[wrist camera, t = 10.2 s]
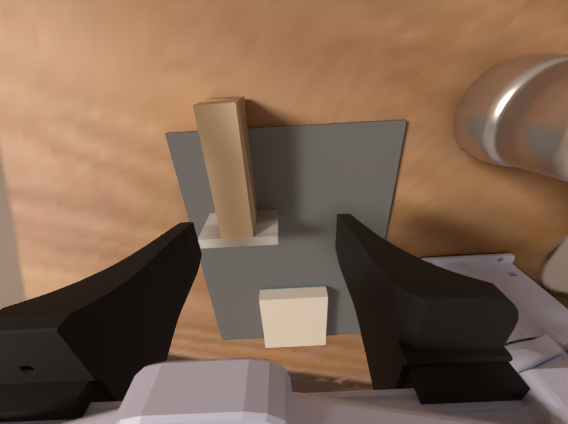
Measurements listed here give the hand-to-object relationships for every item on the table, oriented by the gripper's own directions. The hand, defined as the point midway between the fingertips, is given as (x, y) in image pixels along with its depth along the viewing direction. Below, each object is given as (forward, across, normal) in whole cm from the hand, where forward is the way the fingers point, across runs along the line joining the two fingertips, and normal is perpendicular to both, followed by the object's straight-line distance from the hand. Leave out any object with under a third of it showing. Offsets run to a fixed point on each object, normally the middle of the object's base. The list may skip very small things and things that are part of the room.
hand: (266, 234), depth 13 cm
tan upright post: (+9, +3, 0) cm, 9 cm away
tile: (+8, -1, +13) cm, 15 cm away
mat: (+9, -1, +9) cm, 13 cm away
